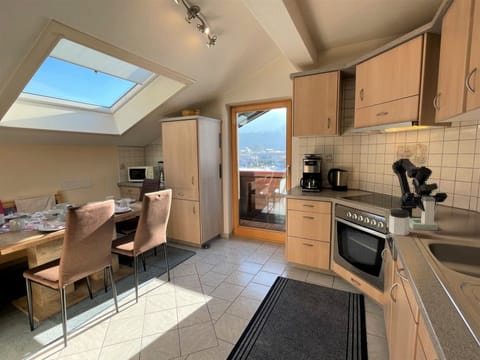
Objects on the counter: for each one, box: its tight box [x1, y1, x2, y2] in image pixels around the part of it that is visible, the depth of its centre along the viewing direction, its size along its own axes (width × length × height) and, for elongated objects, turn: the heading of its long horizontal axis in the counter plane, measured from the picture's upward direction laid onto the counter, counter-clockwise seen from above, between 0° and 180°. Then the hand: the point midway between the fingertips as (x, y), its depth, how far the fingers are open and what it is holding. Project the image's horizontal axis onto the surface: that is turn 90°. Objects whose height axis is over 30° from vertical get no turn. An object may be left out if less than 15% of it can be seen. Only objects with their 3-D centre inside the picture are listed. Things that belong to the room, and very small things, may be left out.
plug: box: [420, 197, 436, 225], centre depth 126 cm, size 4×4×14 cm
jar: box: [388, 208, 410, 237], centre depth 128 cm, size 9×8×12 cm
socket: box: [409, 217, 439, 231], centre depth 136 cm, size 11×11×3 cm
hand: (429, 211), depth 125 cm, fingers closed on plug, 4 cm apart
